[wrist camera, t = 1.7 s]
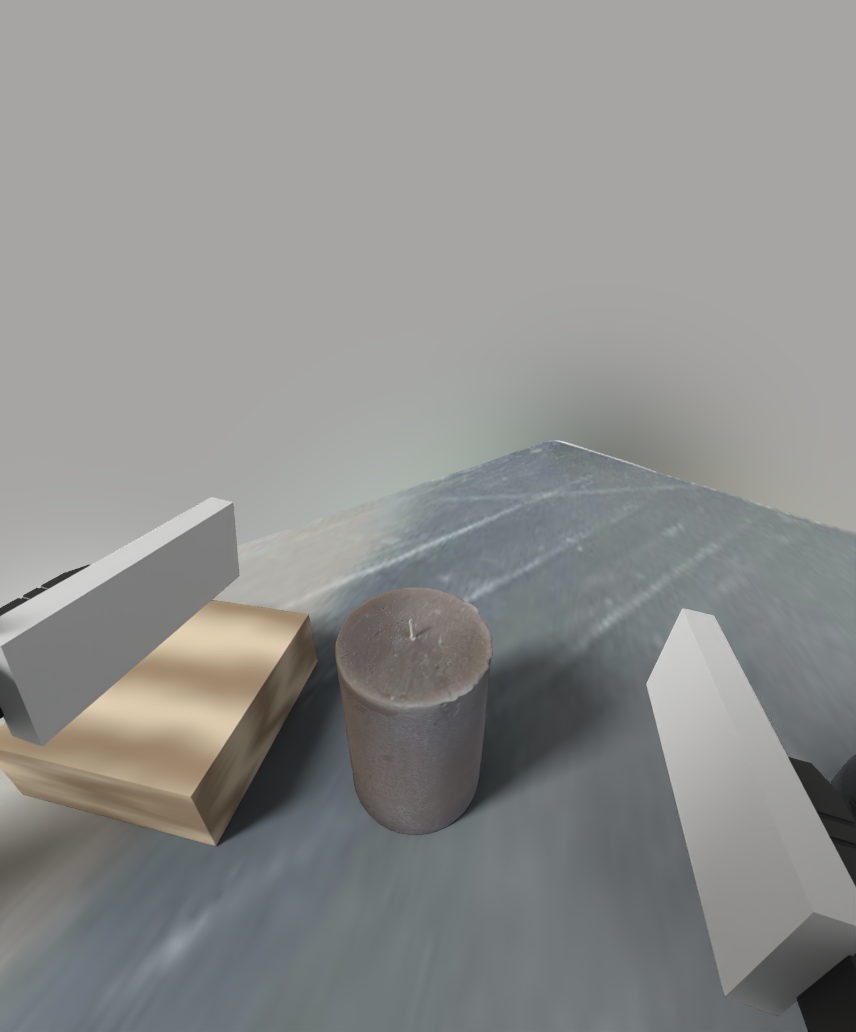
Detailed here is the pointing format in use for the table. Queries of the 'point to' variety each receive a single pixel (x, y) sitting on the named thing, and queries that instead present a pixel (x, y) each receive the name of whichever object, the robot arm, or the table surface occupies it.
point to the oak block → (177, 725)
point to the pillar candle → (414, 705)
